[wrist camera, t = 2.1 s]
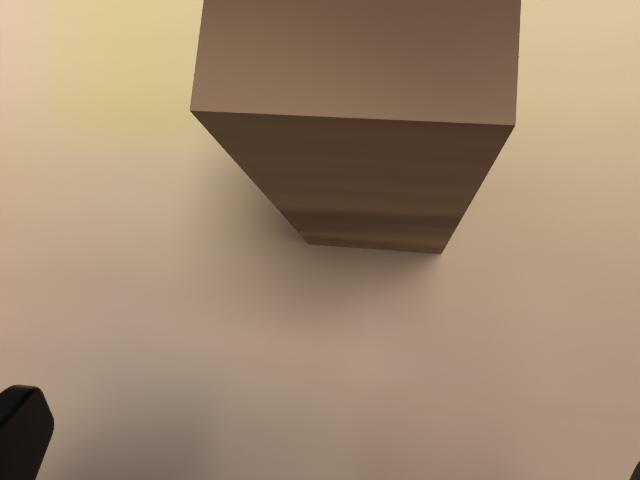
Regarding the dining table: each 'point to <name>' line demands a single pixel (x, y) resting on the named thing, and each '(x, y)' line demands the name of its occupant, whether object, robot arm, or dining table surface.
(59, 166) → the dining table surface
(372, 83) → the brown rectangular pillar
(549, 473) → the dining table surface
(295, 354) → the dining table surface
